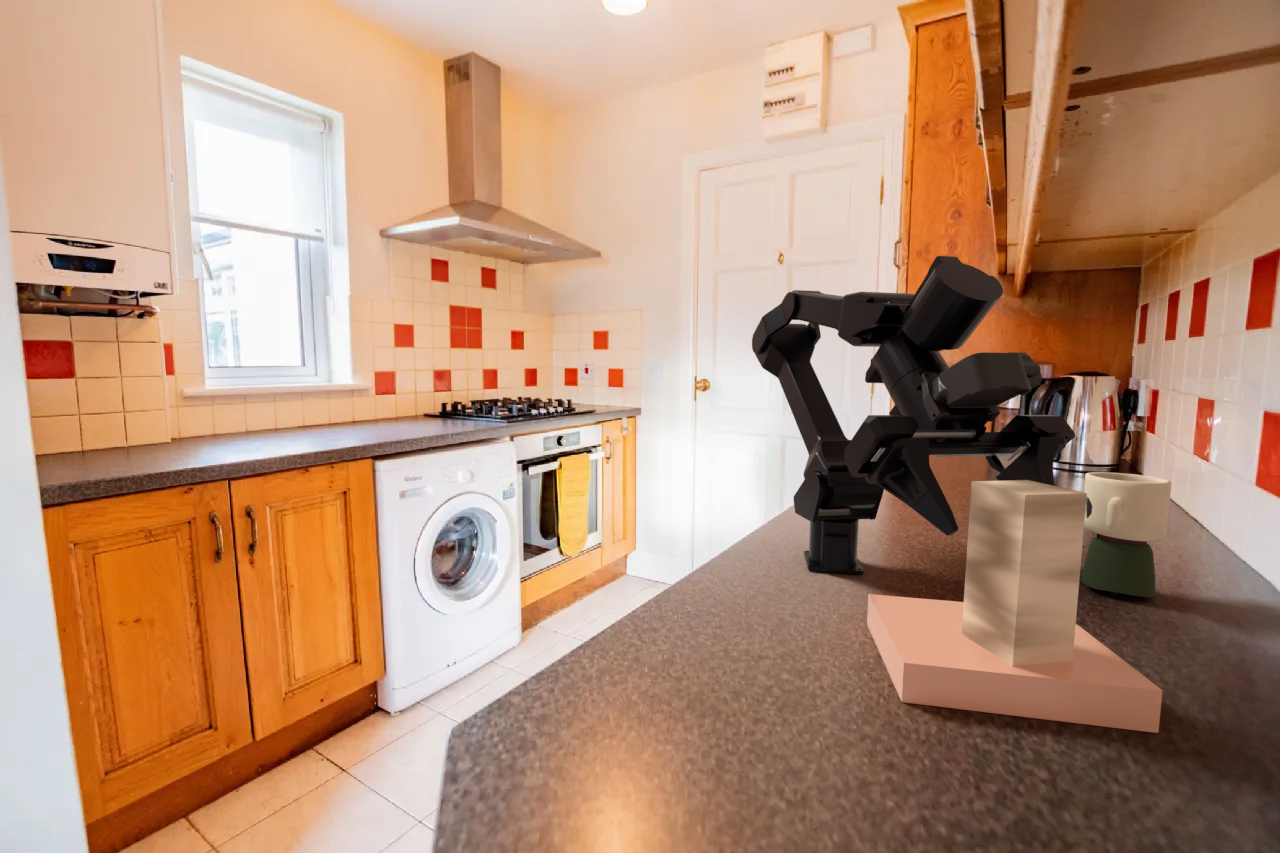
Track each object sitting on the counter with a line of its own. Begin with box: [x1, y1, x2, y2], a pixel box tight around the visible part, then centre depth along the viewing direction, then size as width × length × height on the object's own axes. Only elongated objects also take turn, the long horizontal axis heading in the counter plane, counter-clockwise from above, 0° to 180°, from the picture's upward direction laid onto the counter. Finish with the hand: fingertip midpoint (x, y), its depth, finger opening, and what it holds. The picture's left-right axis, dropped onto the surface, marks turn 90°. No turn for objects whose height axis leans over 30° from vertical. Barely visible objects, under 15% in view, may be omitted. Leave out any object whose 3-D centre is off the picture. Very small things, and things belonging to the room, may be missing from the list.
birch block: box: [962, 480, 1087, 666], centre depth 42 cm, size 5×5×12 cm
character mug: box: [1080, 471, 1172, 598], centre depth 61 cm, size 11×7×13 cm, turn 129°
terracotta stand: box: [866, 593, 1164, 734], centre depth 45 cm, size 13×16×3 cm
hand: (1005, 530), depth 43 cm, fingers open, 9 cm apart
